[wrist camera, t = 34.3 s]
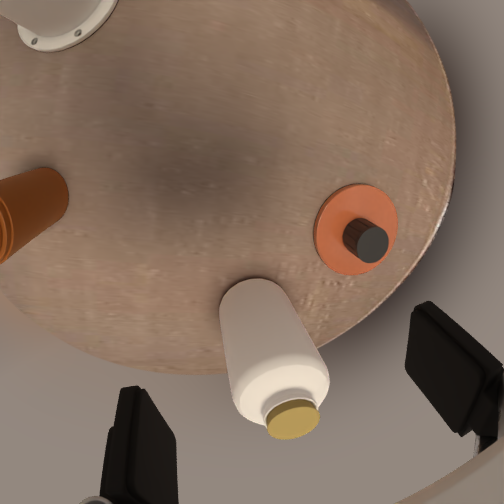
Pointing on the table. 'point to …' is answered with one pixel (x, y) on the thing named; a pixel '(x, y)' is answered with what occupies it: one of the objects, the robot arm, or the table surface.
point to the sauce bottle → (29, 207)
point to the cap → (365, 240)
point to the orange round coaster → (344, 211)
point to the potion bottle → (271, 360)
